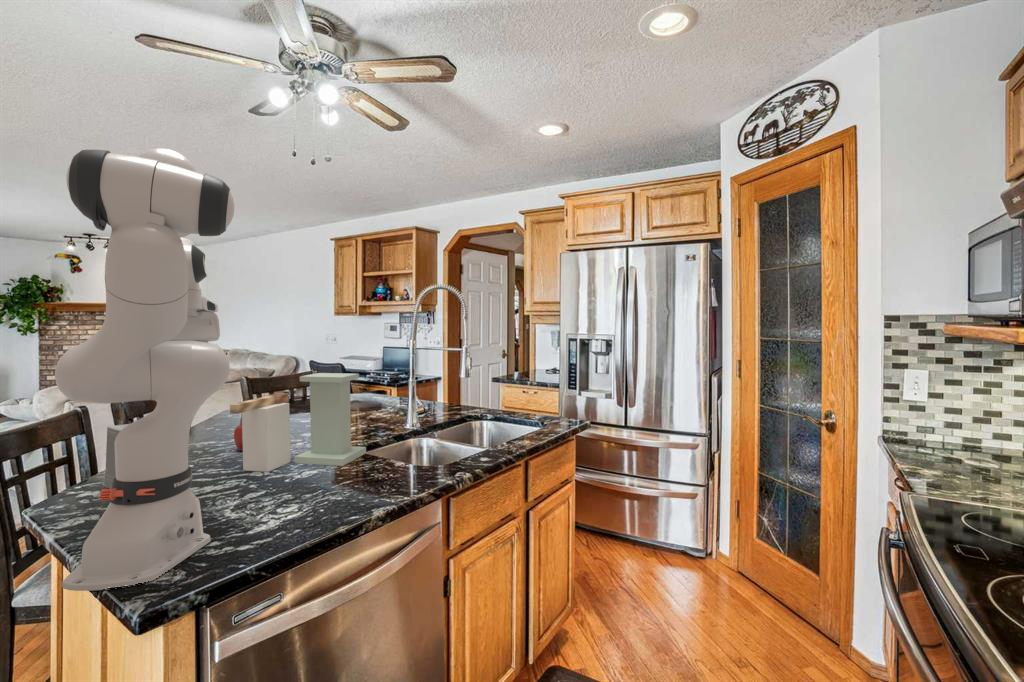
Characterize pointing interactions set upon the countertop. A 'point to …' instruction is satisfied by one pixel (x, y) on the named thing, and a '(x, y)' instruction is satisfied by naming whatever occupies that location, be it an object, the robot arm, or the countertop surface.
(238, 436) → the vegetable
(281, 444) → the rest block
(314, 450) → the shelf stand
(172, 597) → the countertop surface
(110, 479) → the skincare box
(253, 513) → the countertop surface
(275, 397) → the bar
